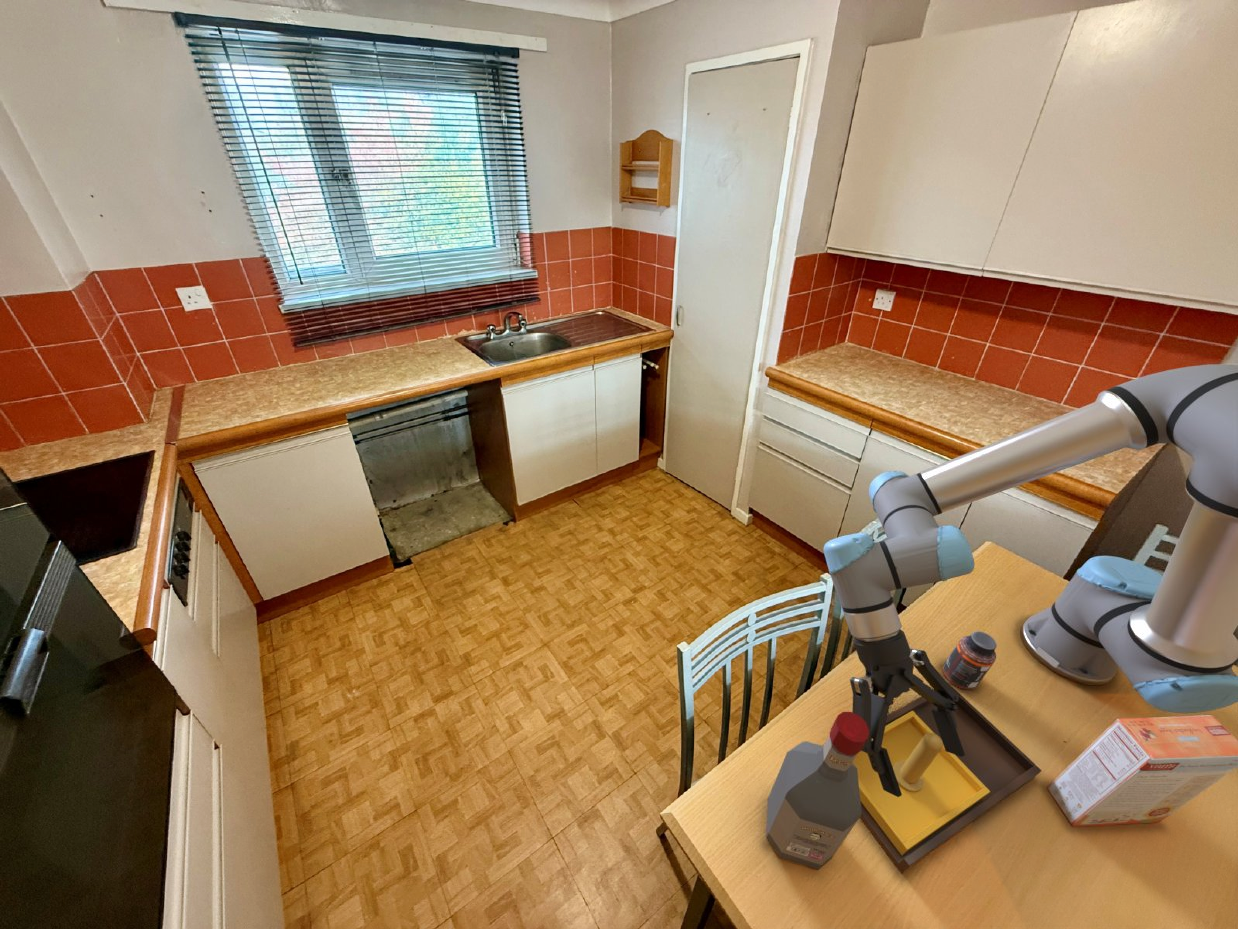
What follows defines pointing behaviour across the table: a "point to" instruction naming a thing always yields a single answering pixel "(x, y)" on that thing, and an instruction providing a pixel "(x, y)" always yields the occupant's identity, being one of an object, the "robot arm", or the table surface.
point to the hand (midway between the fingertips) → (925, 772)
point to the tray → (917, 784)
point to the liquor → (817, 795)
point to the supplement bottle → (970, 660)
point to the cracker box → (1144, 770)
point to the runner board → (983, 757)
